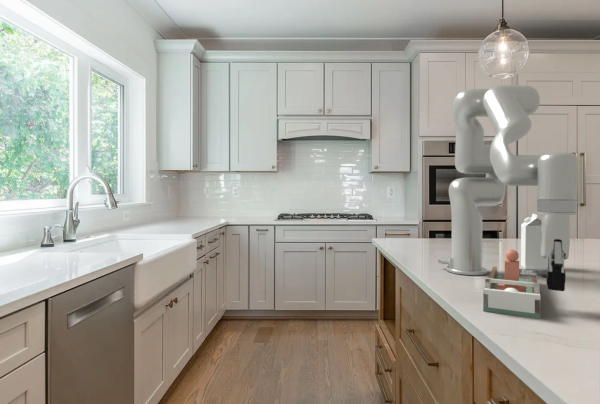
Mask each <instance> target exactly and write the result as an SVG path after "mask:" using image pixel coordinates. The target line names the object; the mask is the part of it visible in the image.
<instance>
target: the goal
mask: <svg viewBox="0 0 600 404" xmlns="http://www.w3.org/2000/svg"><path fill="white" fill-rule="evenodd" d="M484 281H485V282H484V288H483V289H482V290H483V294H484V295H485V294H486V295H485V296H487V294H488V296H487V297H486V298H485V297H482V298H485V299H487V298H488V299H487V300H488V304H487V303H486V302H487V300H486V301H483V300H484V299H483V300H482V301H483V302H482V304H483V303H484V302H485V303H484V305H485V304H487V305H488V307H489V308H497V309H505V310H512V311H520V312H528V313H535V304H536V303H535V300H536V301H538V300H540V301H541V294H540V283H539V282H537V283H532V282H522V281H512V280H501V279H491V278H489V277H485V279H484ZM490 282H491V283H500V284H510V285H520V286H530V287H534V293H525V292H515V291H506V290H497V289H490ZM537 303H539V302H537ZM537 305H538V304H536V306H537ZM539 306H540V307H541V302H540V303H539ZM483 307H484V306H483V305H482V308H483ZM486 307H487V306H486ZM537 308H538V306H537ZM536 310H540V311H536V312H540V313H536V314H540V315H541V308H540V309H536Z"/></svg>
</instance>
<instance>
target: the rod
mask: <svg viewBox="0 0 600 404" xmlns="http://www.w3.org/2000/svg"><path fill="white" fill-rule="evenodd" d="M519 257H520V255H519V252H518V251H517V250H515V249H508V250H507V251H506V252H505V259H504V277H505V280H512V281H519V278H520V276H521V277H530V278H531V277H536V278H542V279H545V280H546V282H547V281H548V272H549V268H546V270H538V269H525V268H520V260H518V259H519ZM564 273H565V282H566V279H567V276H566V273H567V272H566V269H565V268H564ZM506 288H514V289H516V290H518V291H519V292H525V293H526V286H519V285H510V284H498V285H497V290H505V289H506Z"/></svg>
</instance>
